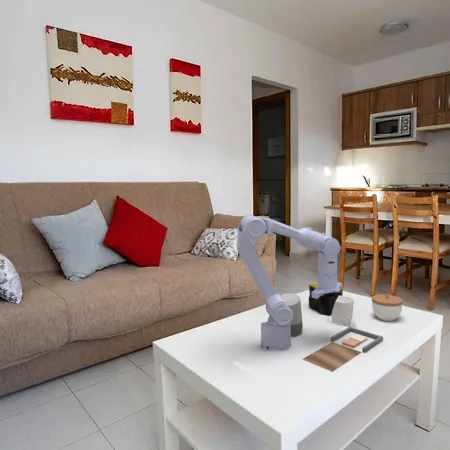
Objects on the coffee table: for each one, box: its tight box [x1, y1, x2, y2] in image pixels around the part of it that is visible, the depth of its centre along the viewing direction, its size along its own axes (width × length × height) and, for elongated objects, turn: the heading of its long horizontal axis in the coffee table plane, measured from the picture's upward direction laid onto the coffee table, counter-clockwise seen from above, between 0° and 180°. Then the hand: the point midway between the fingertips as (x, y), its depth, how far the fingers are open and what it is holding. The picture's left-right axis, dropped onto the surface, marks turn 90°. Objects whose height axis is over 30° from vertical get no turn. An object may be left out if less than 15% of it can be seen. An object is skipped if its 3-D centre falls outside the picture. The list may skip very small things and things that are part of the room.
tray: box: [330, 326, 384, 354], centre depth 116 cm, size 12×12×3 cm
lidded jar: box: [371, 293, 404, 322], centre depth 137 cm, size 11×11×9 cm
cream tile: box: [349, 333, 368, 345], centre depth 116 cm, size 4×4×2 cm
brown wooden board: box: [302, 341, 363, 373], centre depth 106 cm, size 16×10×2 cm, turn 131°
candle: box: [308, 283, 344, 315], centre depth 149 cm, size 10×10×10 cm
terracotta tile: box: [341, 337, 361, 349], centre depth 113 cm, size 4×4×2 cm
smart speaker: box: [279, 292, 304, 338], centre depth 124 cm, size 10×9×14 cm
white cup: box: [331, 295, 354, 328], centre depth 132 cm, size 8×8×10 cm
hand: (327, 315), depth 116 cm, fingers closed
